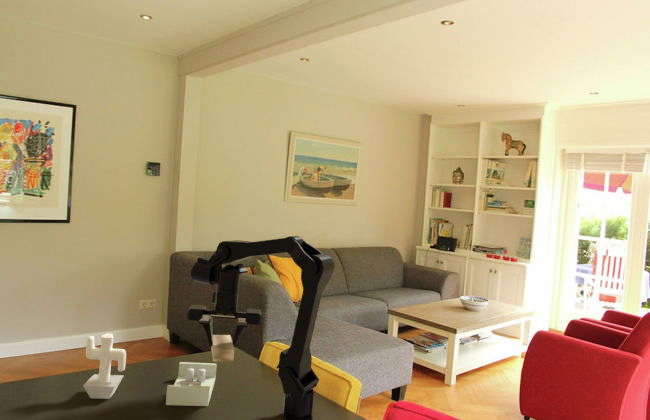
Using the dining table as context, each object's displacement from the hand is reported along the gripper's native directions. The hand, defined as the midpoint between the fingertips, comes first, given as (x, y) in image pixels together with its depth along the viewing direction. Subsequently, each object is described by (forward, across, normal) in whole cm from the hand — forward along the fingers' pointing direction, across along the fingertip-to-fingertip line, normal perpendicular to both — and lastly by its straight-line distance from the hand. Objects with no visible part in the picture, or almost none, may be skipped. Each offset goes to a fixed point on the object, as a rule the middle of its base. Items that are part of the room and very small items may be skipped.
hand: (222, 346), depth 125 cm
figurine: (+12, +27, +5) cm, 30 cm away
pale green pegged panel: (+12, +6, 0) cm, 14 cm away
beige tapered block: (+2, 0, 0) cm, 2 cm away
